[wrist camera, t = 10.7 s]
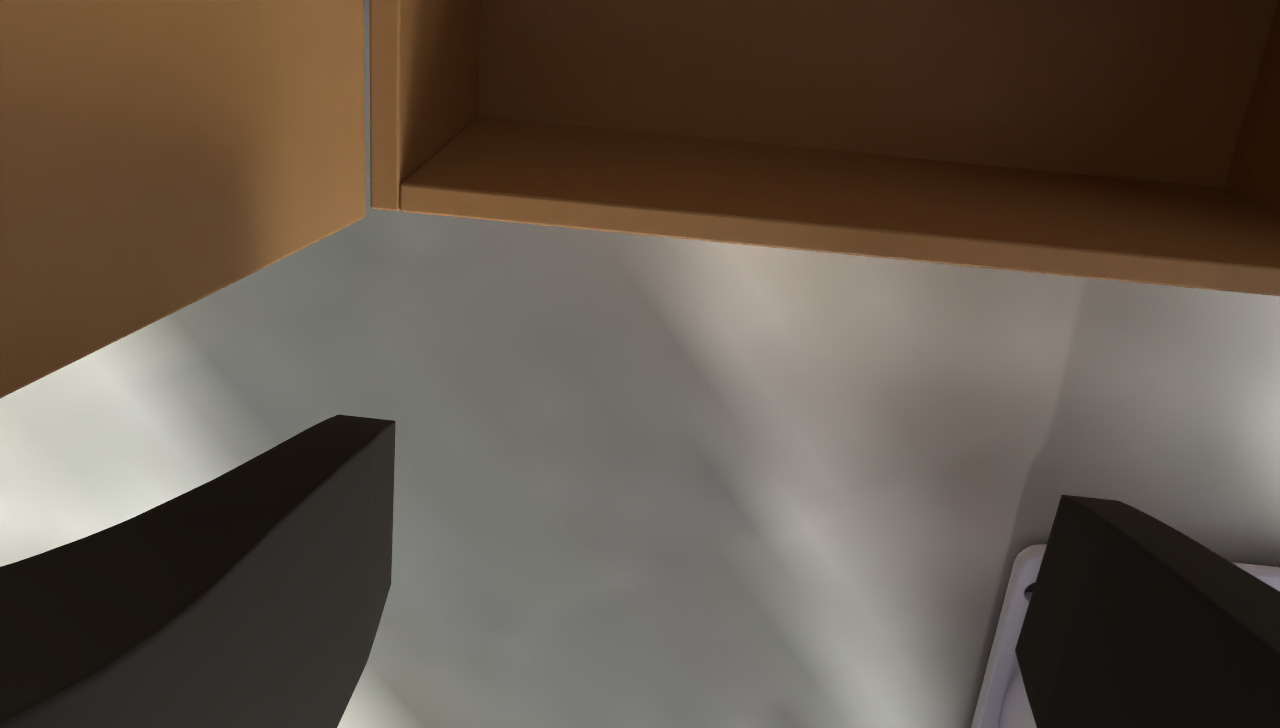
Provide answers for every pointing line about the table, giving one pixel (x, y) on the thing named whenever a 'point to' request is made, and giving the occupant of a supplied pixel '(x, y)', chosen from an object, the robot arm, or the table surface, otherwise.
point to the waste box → (851, 127)
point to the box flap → (164, 158)
